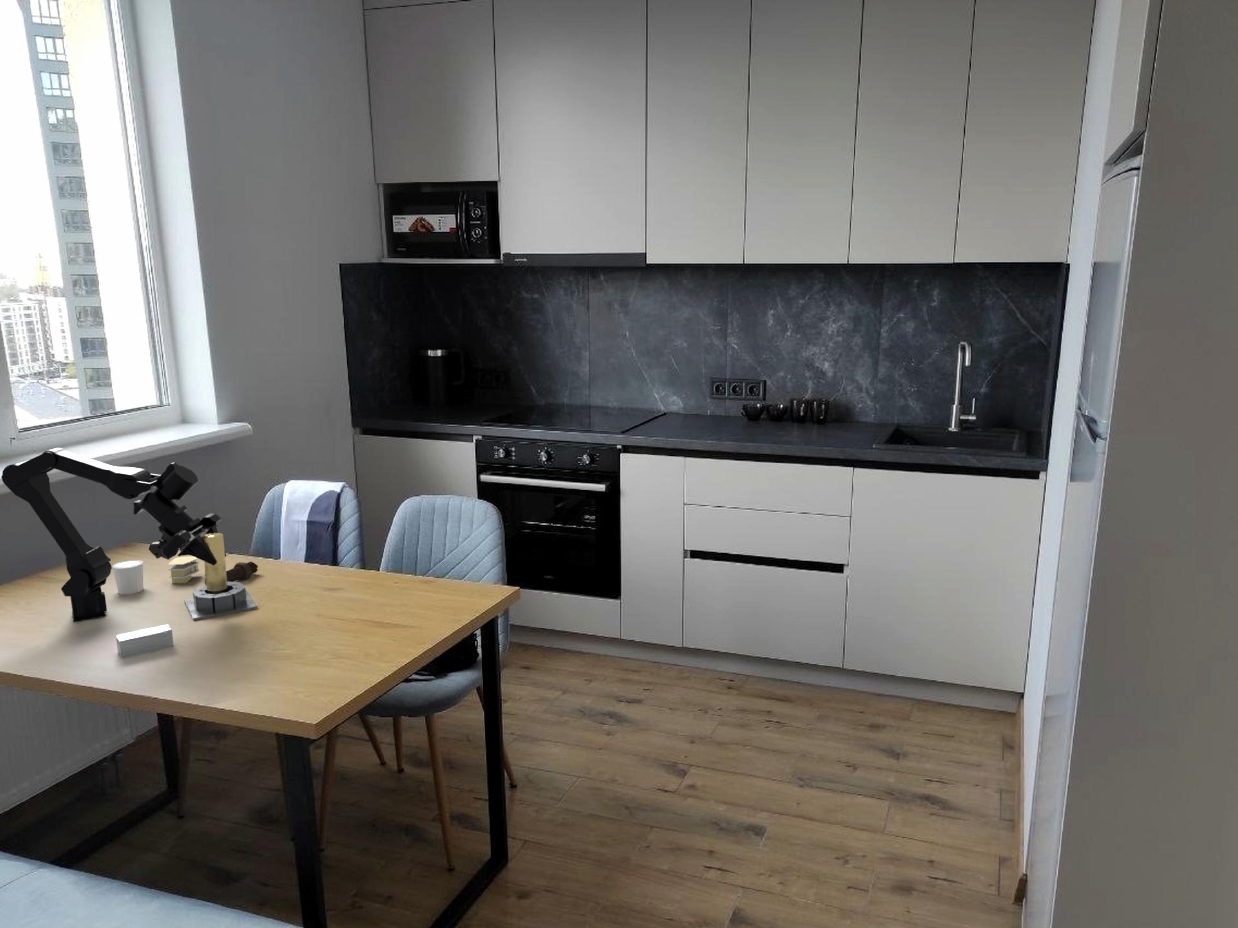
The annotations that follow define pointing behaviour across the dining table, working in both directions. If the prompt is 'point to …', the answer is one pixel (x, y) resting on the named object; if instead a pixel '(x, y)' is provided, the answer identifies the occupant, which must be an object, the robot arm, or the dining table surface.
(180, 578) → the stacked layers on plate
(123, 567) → the shot glass
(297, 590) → the dining table surface
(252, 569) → the bolt
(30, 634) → the dining table surface
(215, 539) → the pale yellow tall bar
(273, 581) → the dining table surface
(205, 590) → the socket block
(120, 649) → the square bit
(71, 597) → the robot arm
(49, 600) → the dining table surface
